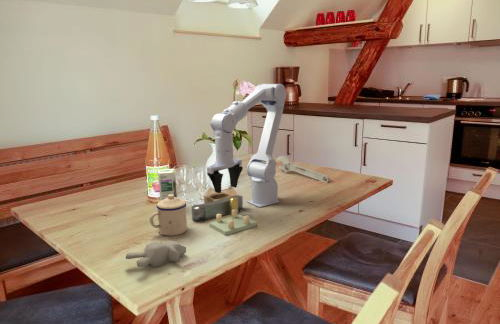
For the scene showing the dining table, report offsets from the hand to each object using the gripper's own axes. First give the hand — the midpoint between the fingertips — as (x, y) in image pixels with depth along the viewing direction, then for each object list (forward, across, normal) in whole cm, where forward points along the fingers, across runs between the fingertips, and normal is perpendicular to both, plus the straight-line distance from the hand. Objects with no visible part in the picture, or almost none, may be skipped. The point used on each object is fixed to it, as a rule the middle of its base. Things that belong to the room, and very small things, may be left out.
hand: (226, 189), depth 135 cm
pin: (+9, -2, +1) cm, 10 cm away
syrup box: (+10, +8, -21) cm, 25 cm away
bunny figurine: (+9, +36, +9) cm, 38 cm away
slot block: (+9, -7, -11) cm, 16 cm away
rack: (+9, +5, +8) cm, 13 cm away
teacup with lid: (+9, +21, -5) cm, 24 cm away
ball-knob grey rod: (+9, +1, -3) cm, 10 cm away
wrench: (+10, -58, -8) cm, 59 cm away
